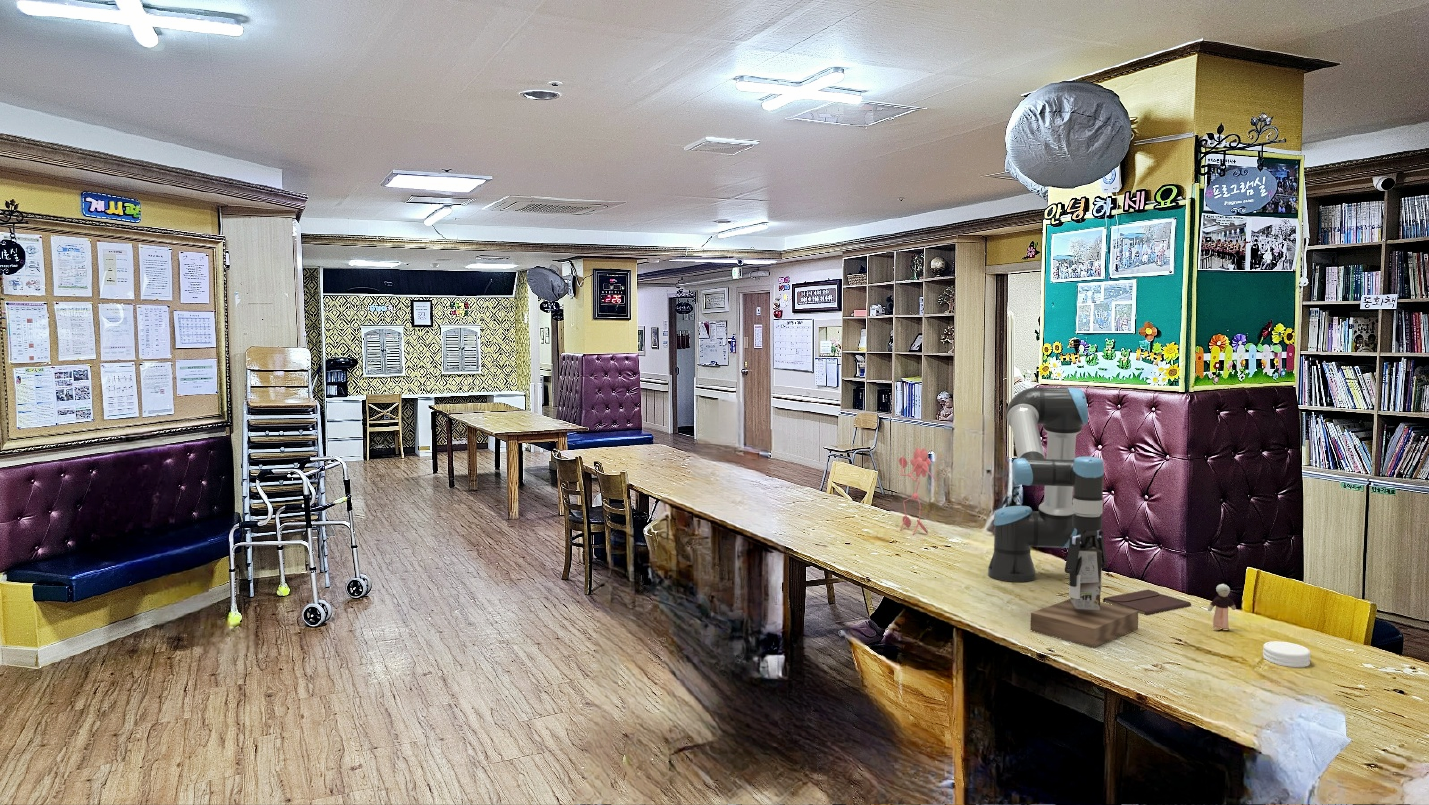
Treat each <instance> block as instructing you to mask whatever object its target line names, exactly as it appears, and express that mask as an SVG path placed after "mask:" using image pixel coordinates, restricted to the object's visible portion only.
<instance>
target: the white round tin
mask: <svg viewBox="0 0 1429 805" xmlns="http://www.w3.org/2000/svg"><path fill="white" fill-rule="evenodd" d="M1262 647H1263V650H1262V652H1263V653H1262V657H1263V659H1264V660H1265V659H1266V660H1265V661H1267V662H1269V661H1270V663H1271V662H1272V663H1271V664H1274V663H1275V664H1274V665H1277V666H1278V665H1279V666H1283V667H1287V668H1306V667H1309V666H1310V665H1311V659H1312V658H1311V655H1312V653H1311V650H1310V649H1309V648H1307V647H1305V646H1303V645H1301V644H1297V643H1293V642H1288V641H1276V640H1275V641H1274V640H1271V641H1267V642H1265V643H1264V644H1263V645H1262Z"/></svg>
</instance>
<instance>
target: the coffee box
mask: <svg viewBox="0 0 1429 805" xmlns="http://www.w3.org/2000/svg"><path fill="white" fill-rule="evenodd" d="M1081 556H1082V565H1081V568H1080V571H1079V575H1080V599H1075V598H1071V597H1069V599H1070V600H1071V602H1072V603H1073V605H1074V606H1075V608H1076V609H1088V610H1100V602H1101V591H1102V574H1101V568H1102V567H1101V563H1102V551H1101V550H1100V549H1099V548H1098V547H1094V546H1093V547H1091V548H1089V549H1088V550H1085V551H1084V550H1079V555H1078V559H1079V558H1080V557H1081Z"/></svg>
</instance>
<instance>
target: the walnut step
mask: <svg viewBox="0 0 1429 805" xmlns="http://www.w3.org/2000/svg"><path fill="white" fill-rule="evenodd" d="M1138 629H1139V613H1138V611H1137V610H1132V609H1128V608H1124V607H1119V606H1115V605H1111V604H1108V603H1105V602H1103V601H1102V602H1101V601H1100V610H1088V609H1076V608H1075V606H1074V605H1073V603H1072V602H1071V600H1070V598H1069V599H1065V600H1063V601H1060V602H1057V603H1055V604H1052V605H1049V606H1047V607H1046V606H1045V607H1043V608H1040V609H1037V610H1034V611H1032V612H1030V629H1029V630H1032V631H1031V632H1034V631H1035V632H1034V633H1037V632H1038V633H1037V634H1041V633H1042V635H1044V634H1045V636H1048V637H1052V636H1054V637H1053V638H1055V637H1057V638H1056V639H1059V638H1061V639H1060V640H1064V641H1066V640H1067V642H1070V641H1071V642H1070V643H1074V644H1077V645H1081V644H1083V645H1082V646H1085V645H1086V646H1085V647H1088V646H1090V647H1089V648H1092V647H1093V649H1094V647H1095V648H1097V647H1098V645H1099V646H1101V645H1104V644H1106V643H1108V642H1111V641H1113V640H1115V639H1117V637H1118V638H1120V637H1122V636H1124V635H1127V634H1130V633H1131V632H1134V631H1136V630H1138ZM1119 636H1120V637H1119ZM1100 644H1101V645H1100Z"/></svg>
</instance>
